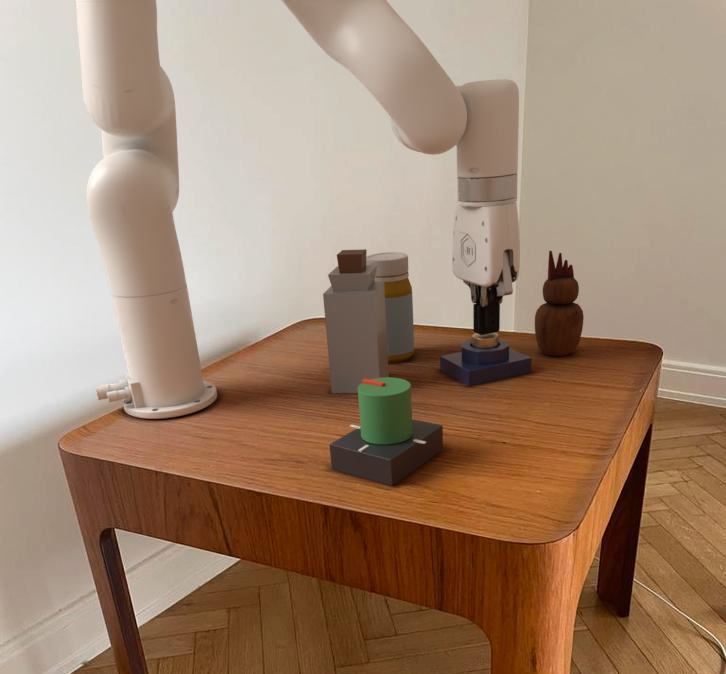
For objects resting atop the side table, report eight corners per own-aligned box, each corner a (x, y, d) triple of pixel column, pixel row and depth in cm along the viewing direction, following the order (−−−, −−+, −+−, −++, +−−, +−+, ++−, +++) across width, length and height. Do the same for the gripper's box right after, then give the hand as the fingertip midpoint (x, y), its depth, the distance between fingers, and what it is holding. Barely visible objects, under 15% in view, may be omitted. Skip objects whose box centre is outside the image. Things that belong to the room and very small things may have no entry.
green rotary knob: (422, 430, 81) (421, 379, 78) (392, 449, 77) (390, 396, 74) (381, 420, 84) (378, 371, 81) (350, 438, 80) (346, 387, 78)
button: (480, 352, 102) (480, 340, 101) (467, 346, 105) (467, 334, 104) (503, 348, 103) (503, 335, 102) (489, 341, 106) (489, 329, 105)
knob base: (399, 488, 76) (398, 460, 74) (325, 467, 81) (322, 441, 80) (450, 451, 83) (449, 425, 81) (378, 434, 88) (377, 410, 87)
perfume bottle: (380, 393, 100) (372, 256, 92) (331, 393, 102) (319, 258, 94) (388, 376, 106) (382, 246, 98) (342, 376, 108) (332, 247, 99)
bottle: (408, 364, 111) (404, 260, 104) (363, 363, 112) (356, 261, 106) (418, 350, 116) (415, 251, 110) (375, 349, 118) (369, 252, 112)
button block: (468, 386, 101) (468, 358, 99) (440, 370, 107) (439, 343, 105) (531, 373, 104) (532, 345, 102) (499, 358, 110) (500, 331, 109)
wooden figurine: (535, 360, 108) (539, 254, 102) (532, 348, 114) (536, 246, 107) (583, 359, 108) (591, 252, 101) (577, 347, 113) (584, 244, 106)
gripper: (432, 189, 99) (436, 325, 108) (493, 198, 87) (492, 350, 95) (481, 183, 102) (481, 316, 110) (547, 191, 89) (541, 340, 98)
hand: (486, 332), depth 103 cm, fingers closed
